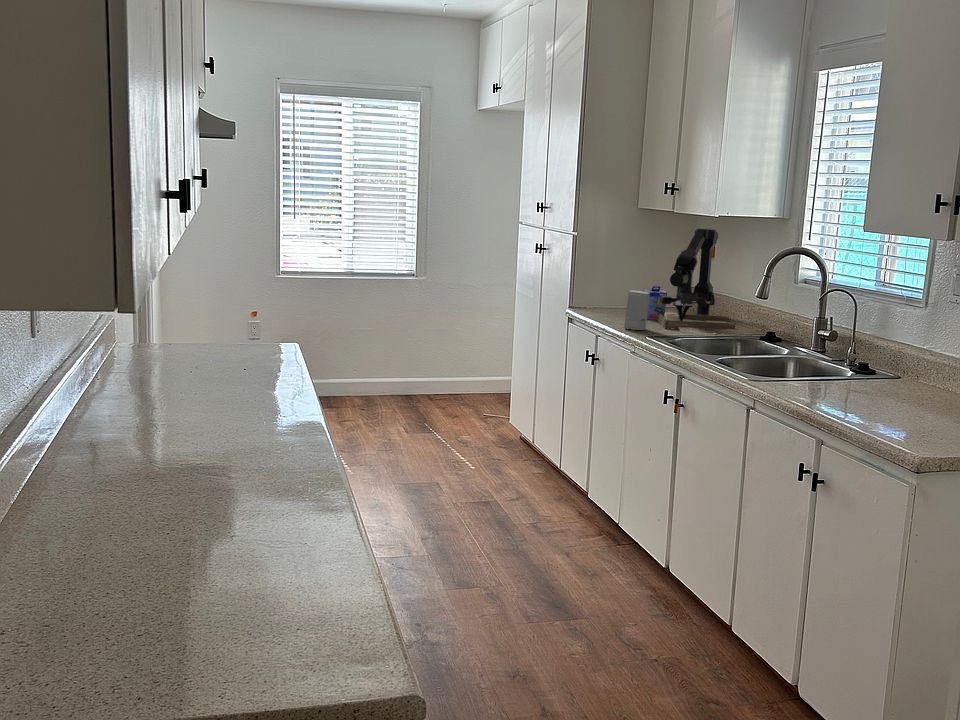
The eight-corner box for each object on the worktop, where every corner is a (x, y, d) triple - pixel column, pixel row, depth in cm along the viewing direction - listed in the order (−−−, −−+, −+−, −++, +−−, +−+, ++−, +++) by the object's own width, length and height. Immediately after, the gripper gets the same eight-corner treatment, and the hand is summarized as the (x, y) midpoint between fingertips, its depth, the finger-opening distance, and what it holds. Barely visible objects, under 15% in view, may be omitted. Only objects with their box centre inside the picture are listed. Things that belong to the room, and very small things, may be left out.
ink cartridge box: (643, 319, 408) (646, 286, 405) (639, 317, 414) (642, 284, 410) (665, 319, 410) (668, 286, 407) (660, 317, 416) (663, 284, 412)
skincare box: (623, 329, 382) (627, 291, 379) (626, 326, 389) (629, 289, 386) (644, 331, 380) (648, 293, 377) (646, 328, 387) (650, 290, 383)
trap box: (657, 320, 406) (657, 312, 405) (723, 323, 406) (724, 315, 406) (665, 328, 389) (665, 320, 388) (734, 331, 389) (735, 323, 388)
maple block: (664, 320, 399) (664, 312, 398) (675, 321, 399) (676, 312, 398) (666, 322, 394) (667, 314, 393) (678, 323, 394) (678, 315, 393)
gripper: (666, 286, 385) (662, 323, 389) (711, 288, 386) (707, 325, 389) (661, 282, 396) (657, 318, 400) (704, 284, 397) (701, 320, 400)
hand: (681, 320), depth 397 cm, fingers closed
